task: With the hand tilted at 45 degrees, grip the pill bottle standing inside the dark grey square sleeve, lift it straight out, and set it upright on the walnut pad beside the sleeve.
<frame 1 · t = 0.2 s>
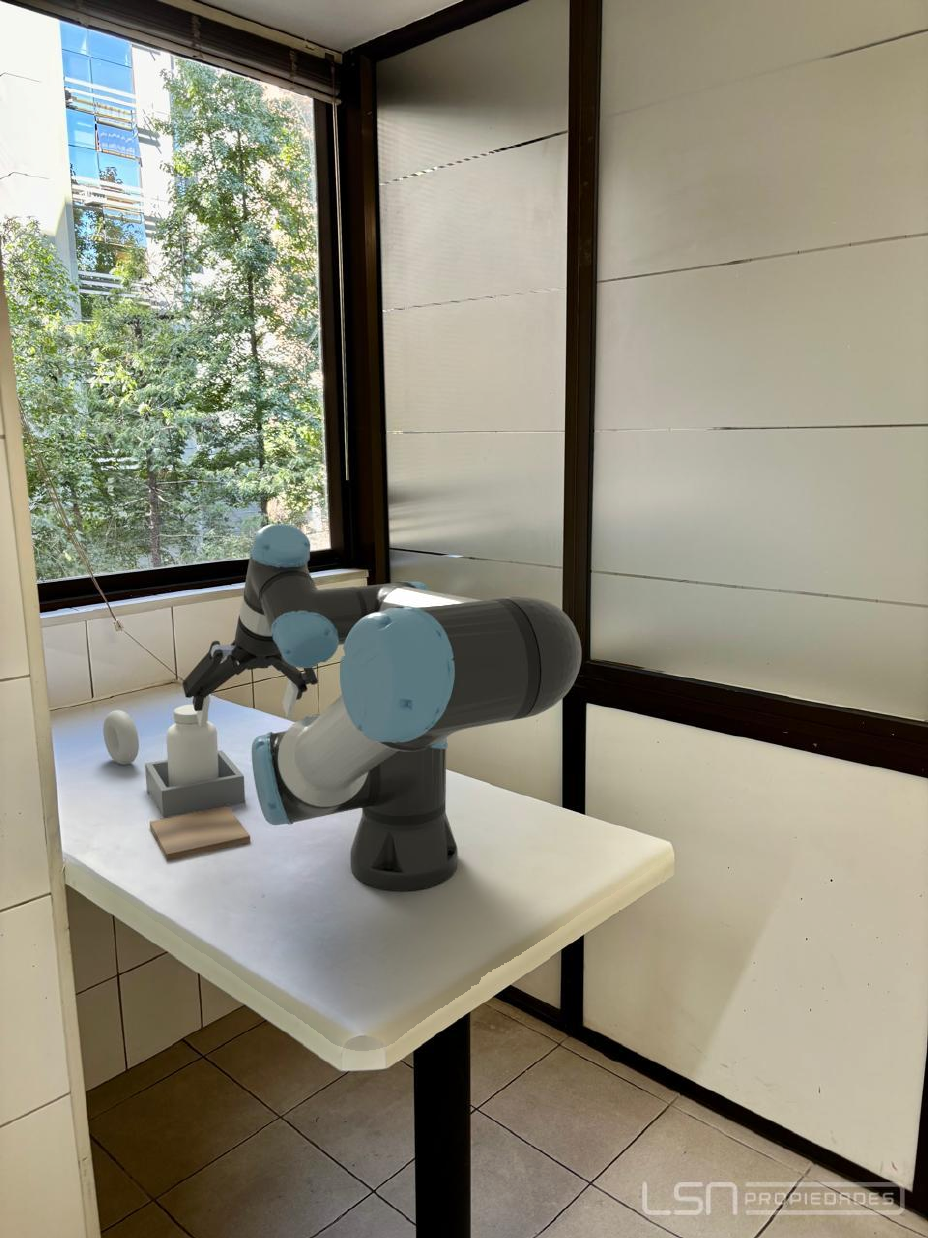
hand: (244, 715, 143), 16 cm above the table, tool tilted 35°, fingers open, 13 cm apart
donut: (123, 764, 164), on the table
sleeve: (195, 795, 151), on the table
pad: (199, 834, 136), on the table
pill bottle: (195, 796, 151), on the table
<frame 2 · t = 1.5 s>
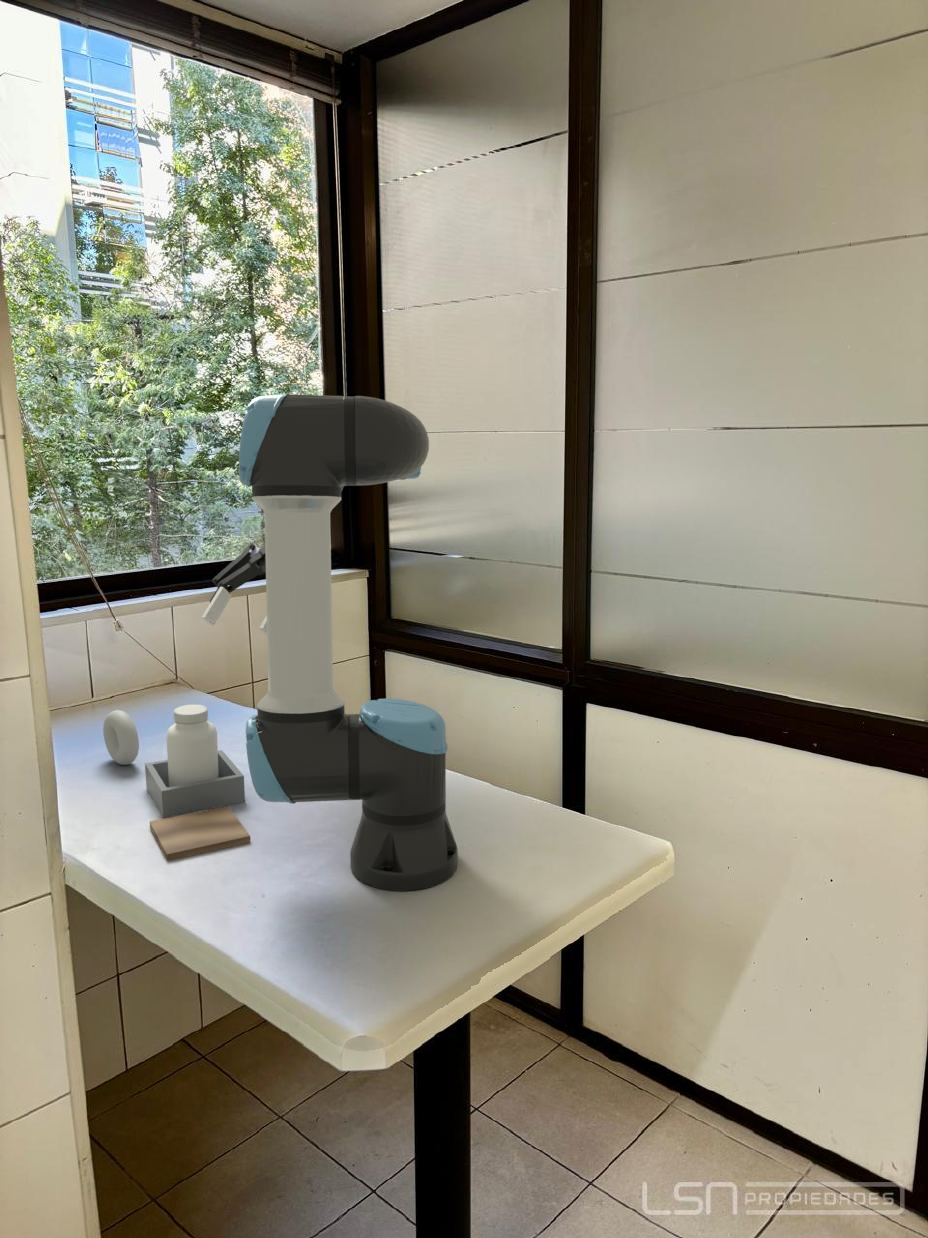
hand: (235, 627, 154), 27 cm above the table, tool tilted 45°, fingers open, 13 cm apart
nothing on the table moved.
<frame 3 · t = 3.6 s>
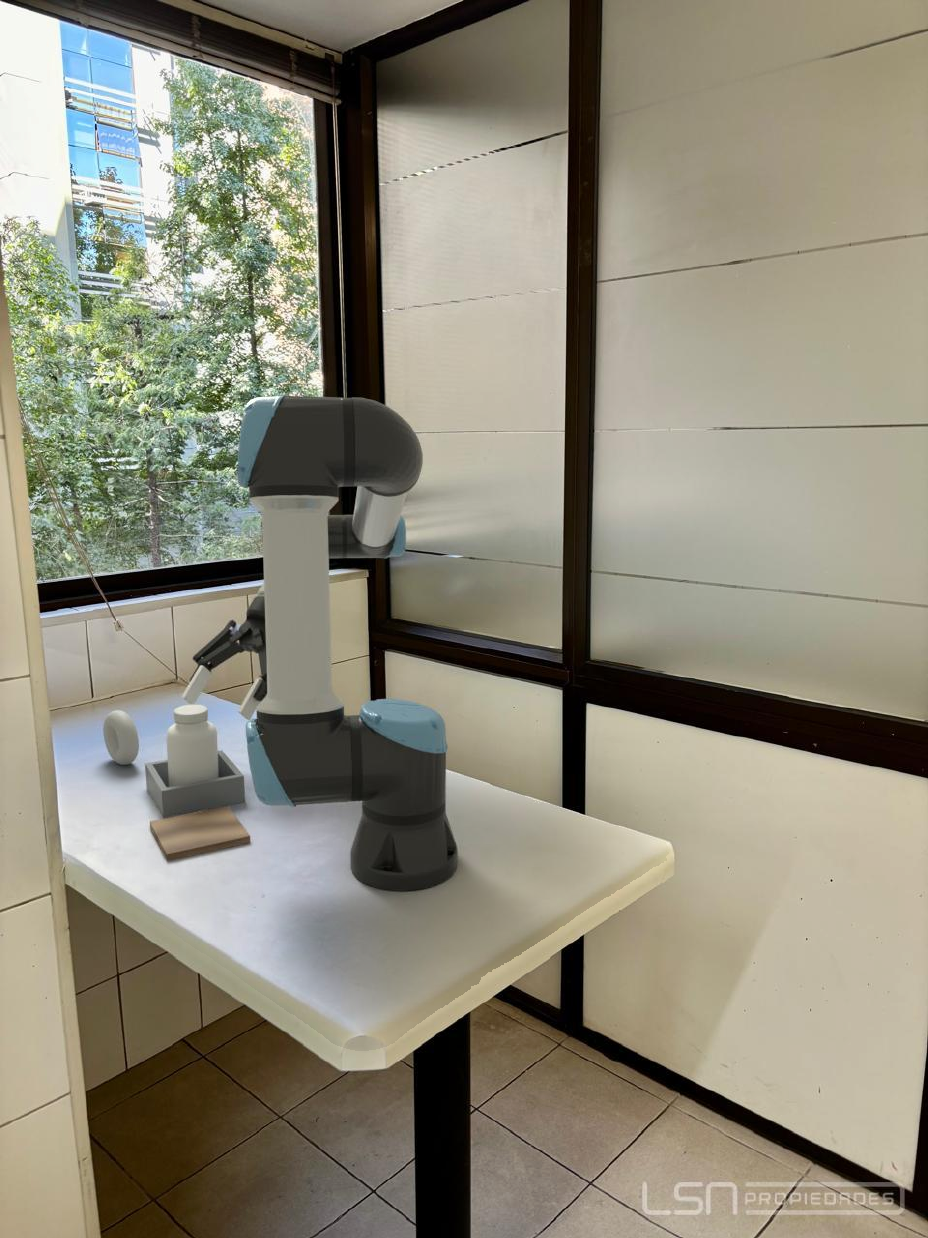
hand: (214, 708, 153), 13 cm above the table, tool tilted 45°, fingers open, 13 cm apart
nothing on the table moved.
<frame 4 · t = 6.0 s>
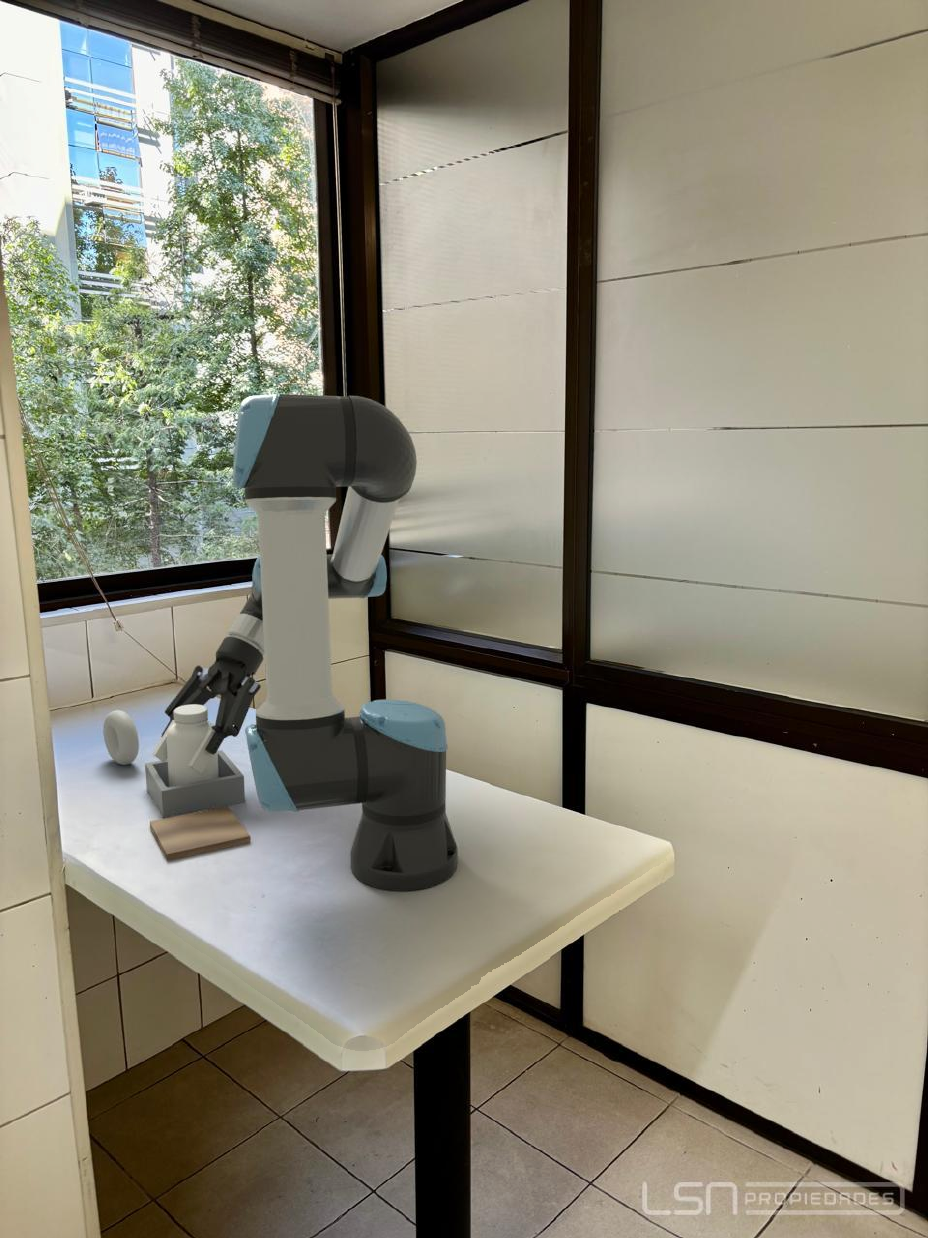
hand: (176, 763, 146), 7 cm above the table, tool tilted 45°, fingers closed on pill bottle, 8 cm apart
pill bottle: (195, 796, 151), on the table, touching gripper
everything else where it was.
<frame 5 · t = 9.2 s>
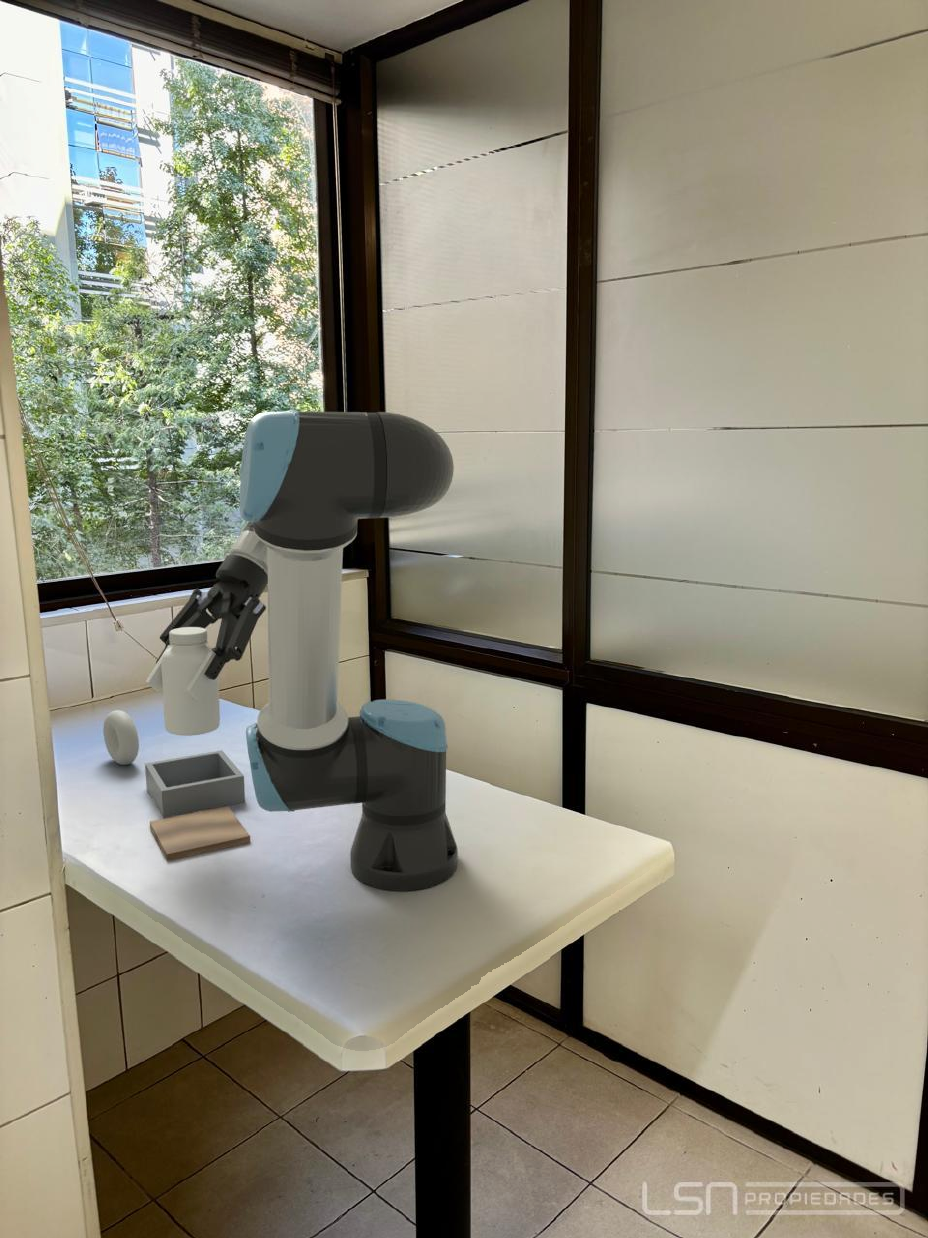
hand: (172, 691, 131), 23 cm above the table, tool tilted 45°, fingers closed on pill bottle, 8 cm apart
pill bottle: (193, 729, 135), point 16 cm above the table, touching gripper
everything else where it was.
when the fingers open (9 cm above the table, at t = 12.5 s): pill bottle drops 1 cm, resting on pad.
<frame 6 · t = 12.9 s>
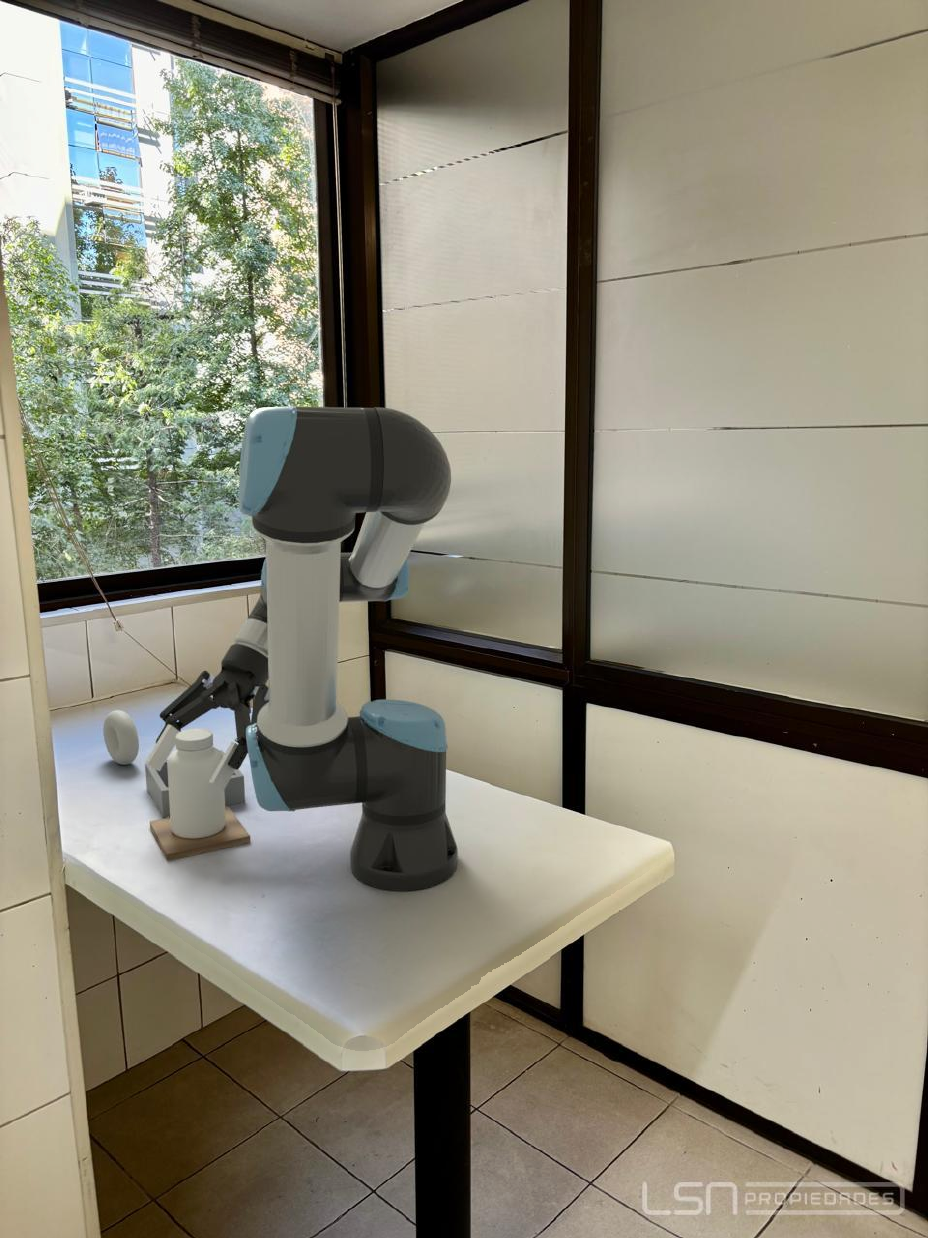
hand: (183, 776, 132), 10 cm above the table, tool tilted 45°, fingers open, 13 cm apart
pill bottle: (199, 829, 136), point 1 cm above the table, touching pad
everything else where it was.
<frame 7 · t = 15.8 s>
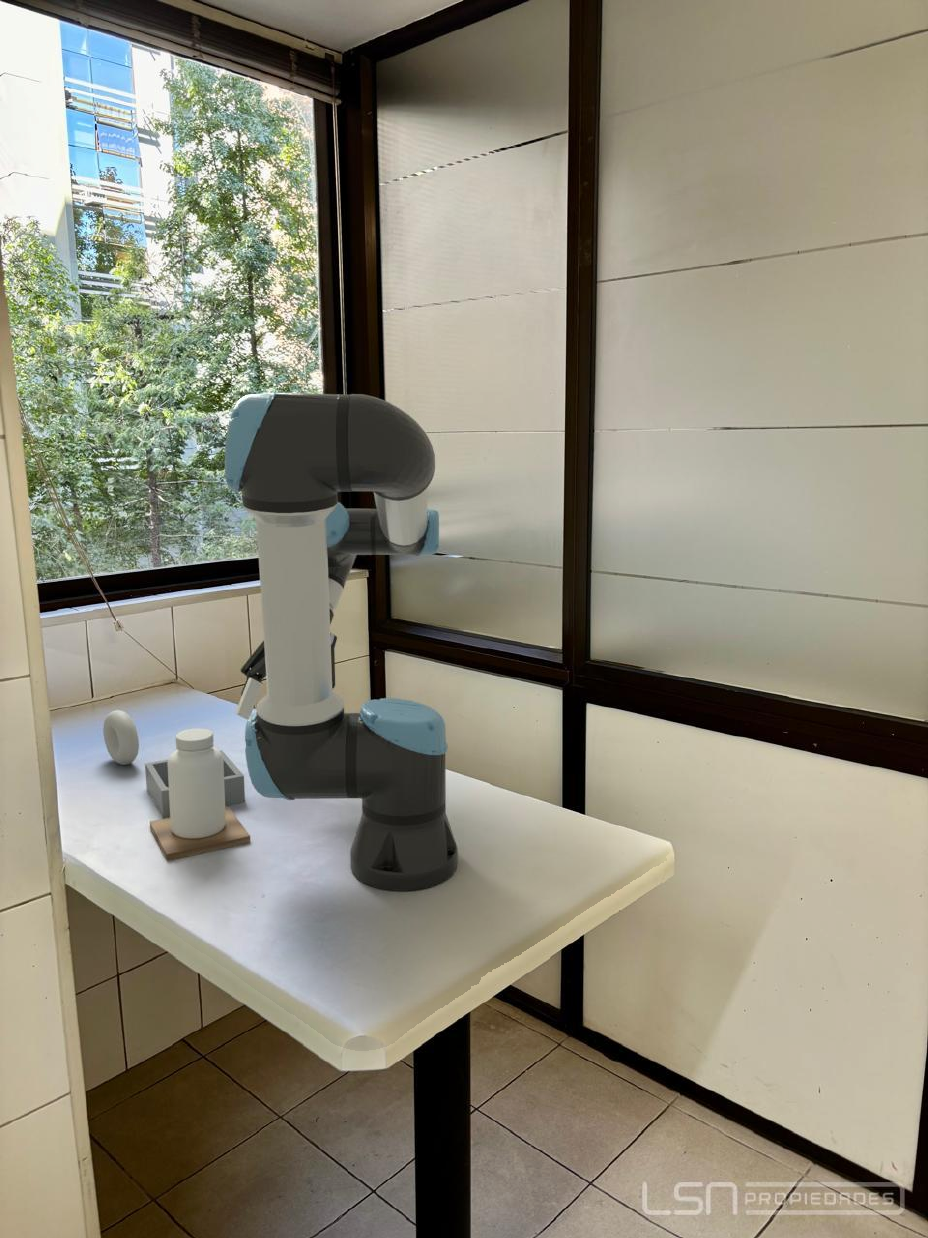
hand: (269, 721, 148), 13 cm above the table, tool tilted 35°, fingers open, 13 cm apart
nothing on the table moved.
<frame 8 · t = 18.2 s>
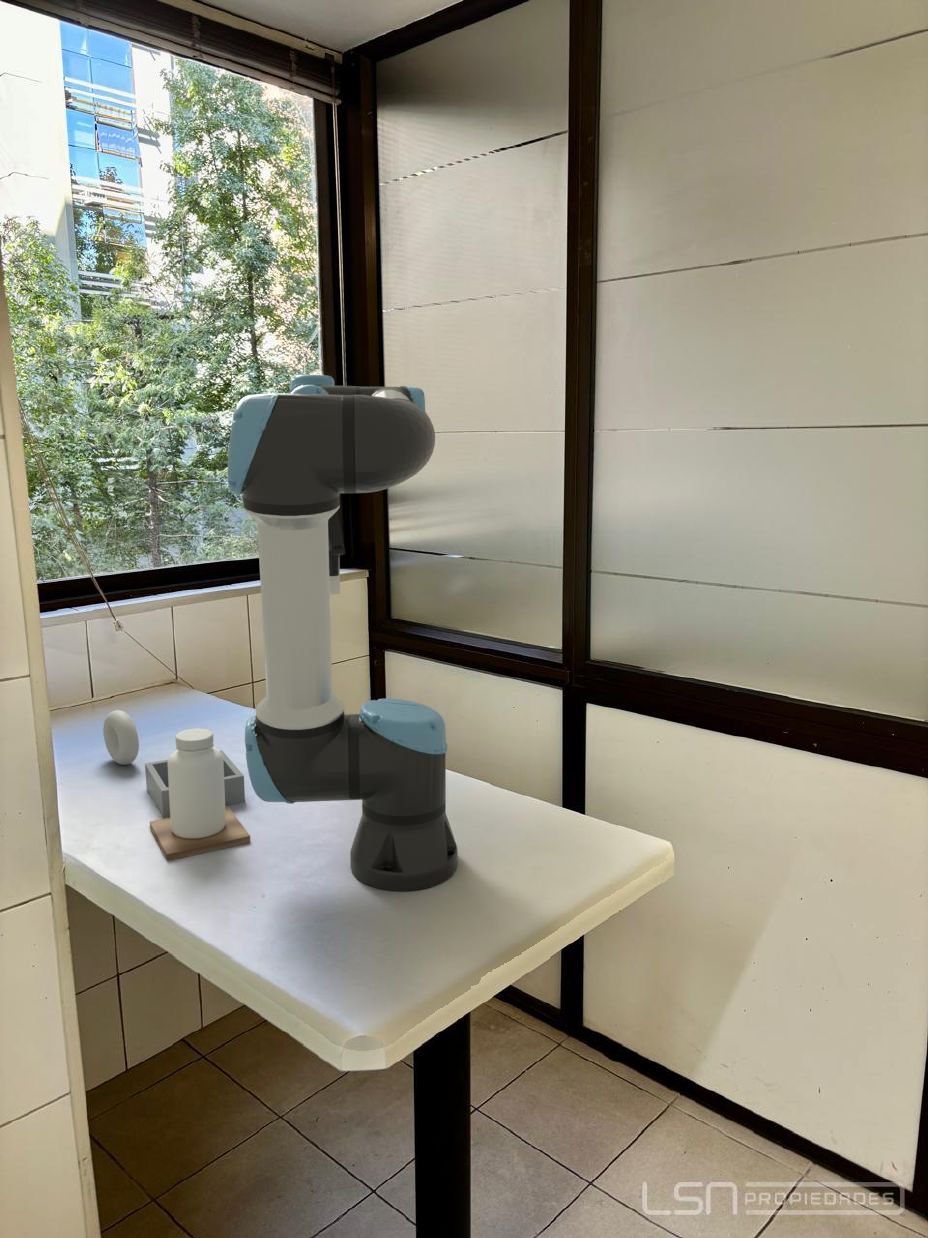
hand: (317, 587, 162), 32 cm above the table, tool pointing down, fingers open, 13 cm apart
nothing on the table moved.
at the end: pill bottle inside the target area on the pad (0.1 cm from its centre), point 0.8 cm above the pad's base; pill bottle tilted 0°; the gripper is holding nothing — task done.
